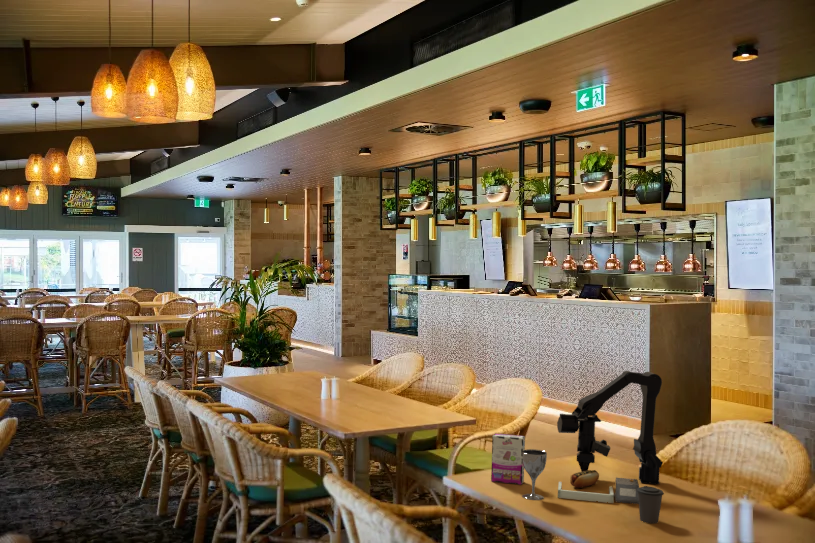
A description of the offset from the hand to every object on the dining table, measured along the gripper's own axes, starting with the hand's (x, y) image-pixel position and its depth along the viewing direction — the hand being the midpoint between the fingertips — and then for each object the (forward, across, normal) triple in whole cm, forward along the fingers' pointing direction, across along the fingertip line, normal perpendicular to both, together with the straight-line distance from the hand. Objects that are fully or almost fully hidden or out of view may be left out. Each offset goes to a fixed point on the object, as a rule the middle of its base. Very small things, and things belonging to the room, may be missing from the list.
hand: (584, 476), depth 281 cm
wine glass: (+2, -27, +17) cm, 32 cm away
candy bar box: (+2, -11, +27) cm, 29 cm away
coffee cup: (+2, -40, -20) cm, 44 cm away
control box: (+2, -19, -14) cm, 23 cm away
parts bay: (+2, -19, 0) cm, 19 cm away
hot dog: (+2, -7, 0) cm, 7 cm away
